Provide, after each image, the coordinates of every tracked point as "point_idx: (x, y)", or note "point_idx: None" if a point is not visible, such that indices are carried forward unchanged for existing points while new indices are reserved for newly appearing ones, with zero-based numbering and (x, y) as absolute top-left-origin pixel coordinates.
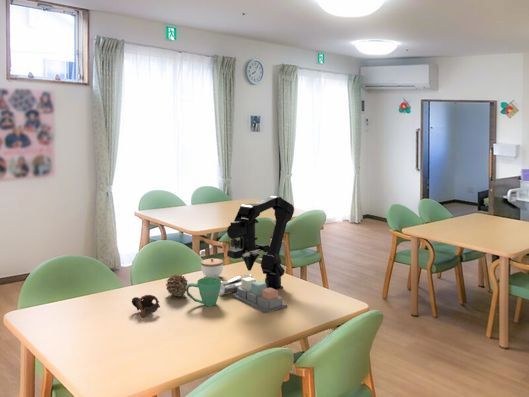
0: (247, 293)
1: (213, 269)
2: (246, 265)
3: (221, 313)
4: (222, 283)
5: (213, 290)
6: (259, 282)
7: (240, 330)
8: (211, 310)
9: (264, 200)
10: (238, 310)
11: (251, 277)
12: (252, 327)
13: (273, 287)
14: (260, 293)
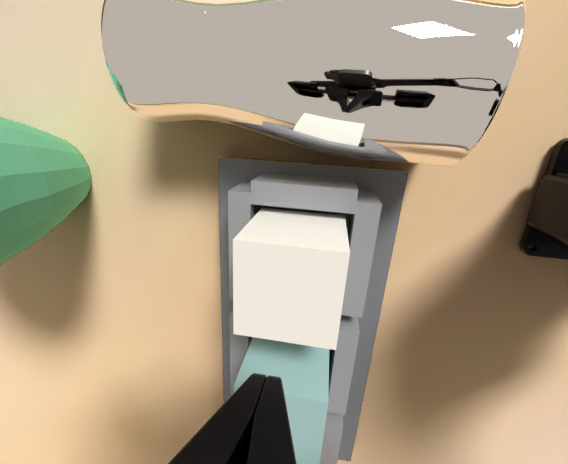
0: (231, 315)
1: None
2: (196, 447)
3: (72, 308)
4: (114, 83)
5: None
6: (295, 420)
7: (79, 446)
8: (44, 250)
9: None
10: (150, 333)
11: (342, 284)
12: (121, 458)
13: (560, 244)
14: None
